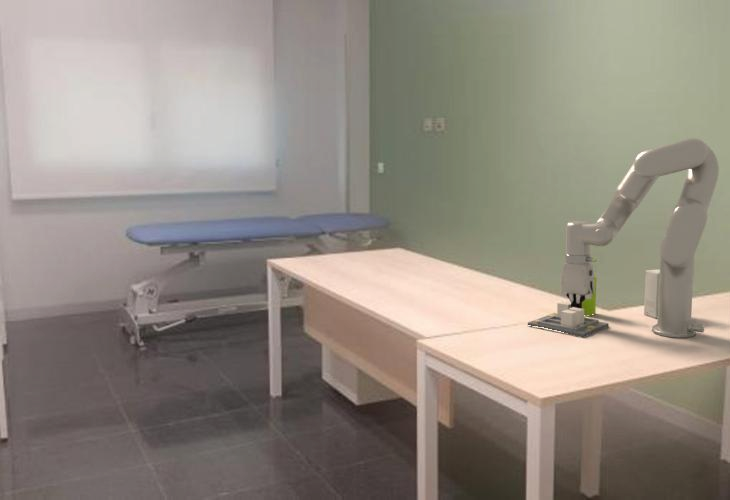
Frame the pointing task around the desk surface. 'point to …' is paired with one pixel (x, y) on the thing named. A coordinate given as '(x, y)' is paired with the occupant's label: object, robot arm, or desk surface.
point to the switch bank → (581, 330)
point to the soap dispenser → (590, 301)
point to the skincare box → (651, 293)
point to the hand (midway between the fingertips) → (576, 313)
